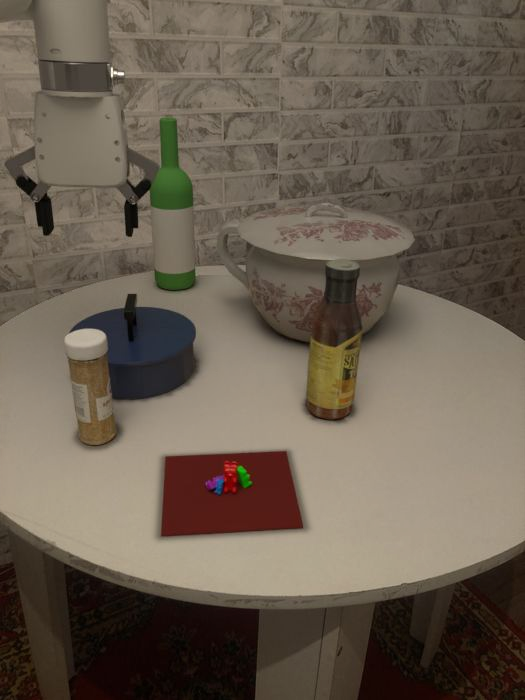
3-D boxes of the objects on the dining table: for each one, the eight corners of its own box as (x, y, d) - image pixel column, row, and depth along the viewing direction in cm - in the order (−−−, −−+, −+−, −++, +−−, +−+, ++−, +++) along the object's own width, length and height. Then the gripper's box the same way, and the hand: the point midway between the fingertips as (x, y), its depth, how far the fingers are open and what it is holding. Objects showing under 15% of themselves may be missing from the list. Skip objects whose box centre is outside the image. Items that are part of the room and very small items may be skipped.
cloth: (161, 536, 58) (161, 534, 58) (165, 458, 68) (165, 456, 68) (303, 528, 59) (303, 525, 59) (286, 452, 70) (286, 450, 70)
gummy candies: (203, 495, 63) (202, 469, 61) (206, 478, 65) (206, 452, 63) (251, 497, 63) (251, 471, 61) (252, 480, 65) (253, 455, 63)
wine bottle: (156, 293, 111) (145, 121, 96) (154, 277, 117) (143, 115, 103) (197, 290, 112) (193, 121, 98) (193, 275, 119) (188, 115, 104)
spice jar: (120, 441, 71) (110, 341, 65) (81, 450, 69) (67, 348, 63) (112, 420, 75) (101, 324, 68) (75, 428, 73) (60, 330, 66)
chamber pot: (435, 337, 98) (458, 212, 88) (303, 383, 84) (313, 241, 74) (325, 282, 118) (334, 175, 108) (204, 312, 104) (201, 193, 94)
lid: (57, 372, 75) (50, 332, 73) (79, 314, 91) (75, 279, 88) (196, 368, 77) (195, 329, 75) (195, 311, 93) (194, 277, 90)
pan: (66, 401, 78) (61, 366, 76) (86, 342, 93) (82, 312, 90) (193, 397, 80) (192, 362, 77) (193, 340, 94) (192, 309, 92)
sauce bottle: (347, 426, 75) (364, 278, 65) (299, 416, 77) (309, 270, 67) (357, 399, 80) (374, 259, 71) (312, 390, 82) (323, 253, 73)
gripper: (158, 81, 69) (162, 225, 77) (2, 74, 67) (23, 223, 75) (155, 86, 63) (160, 243, 71) (-18, 78, 60) (7, 241, 68)
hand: (89, 233), depth 73 cm, fingers open, 9 cm apart
